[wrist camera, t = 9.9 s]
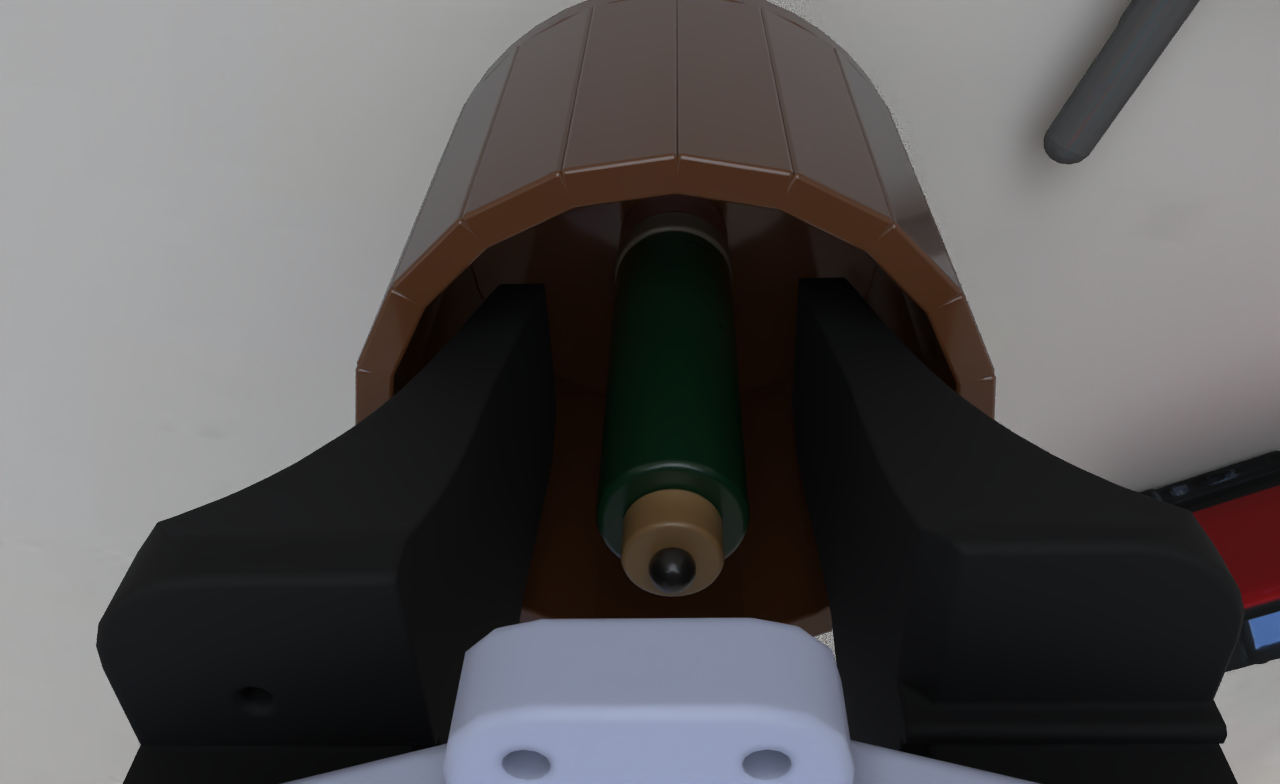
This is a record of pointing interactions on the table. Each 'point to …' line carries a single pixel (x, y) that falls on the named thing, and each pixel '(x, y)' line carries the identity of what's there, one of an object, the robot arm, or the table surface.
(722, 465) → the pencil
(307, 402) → the table surface
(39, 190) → the table surface
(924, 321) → the pencil cup
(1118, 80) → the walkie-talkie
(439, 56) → the table surface
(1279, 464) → the handheld console
